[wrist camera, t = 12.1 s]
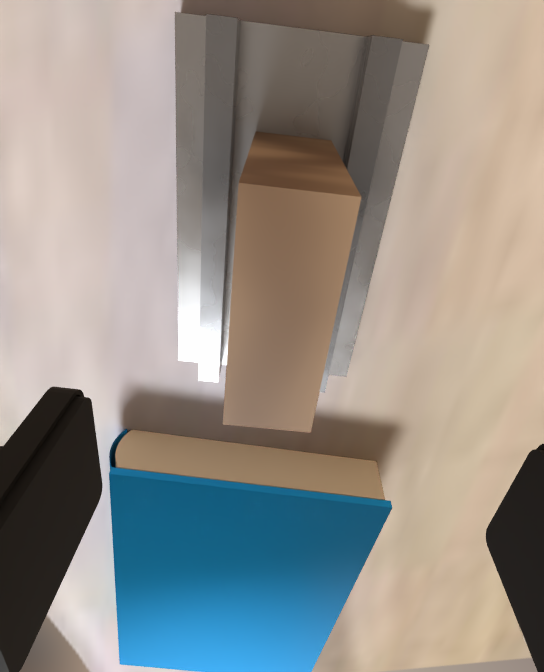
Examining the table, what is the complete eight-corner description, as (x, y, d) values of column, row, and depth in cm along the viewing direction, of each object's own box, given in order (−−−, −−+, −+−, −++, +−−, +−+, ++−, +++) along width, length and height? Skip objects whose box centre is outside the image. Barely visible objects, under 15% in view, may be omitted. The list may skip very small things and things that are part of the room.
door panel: (331, 140, 18) (361, 197, 11) (302, 314, 22) (310, 432, 15) (255, 131, 17) (238, 183, 11) (241, 308, 22) (222, 424, 15)
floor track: (180, 14, 16) (165, 8, 14) (421, 44, 17) (442, 44, 15) (182, 349, 24) (172, 377, 22) (344, 365, 25) (350, 394, 23)
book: (393, 505, 26) (310, 686, 39) (379, 449, 30) (307, 632, 43) (94, 472, 25) (112, 670, 38) (118, 418, 28) (127, 616, 42)
